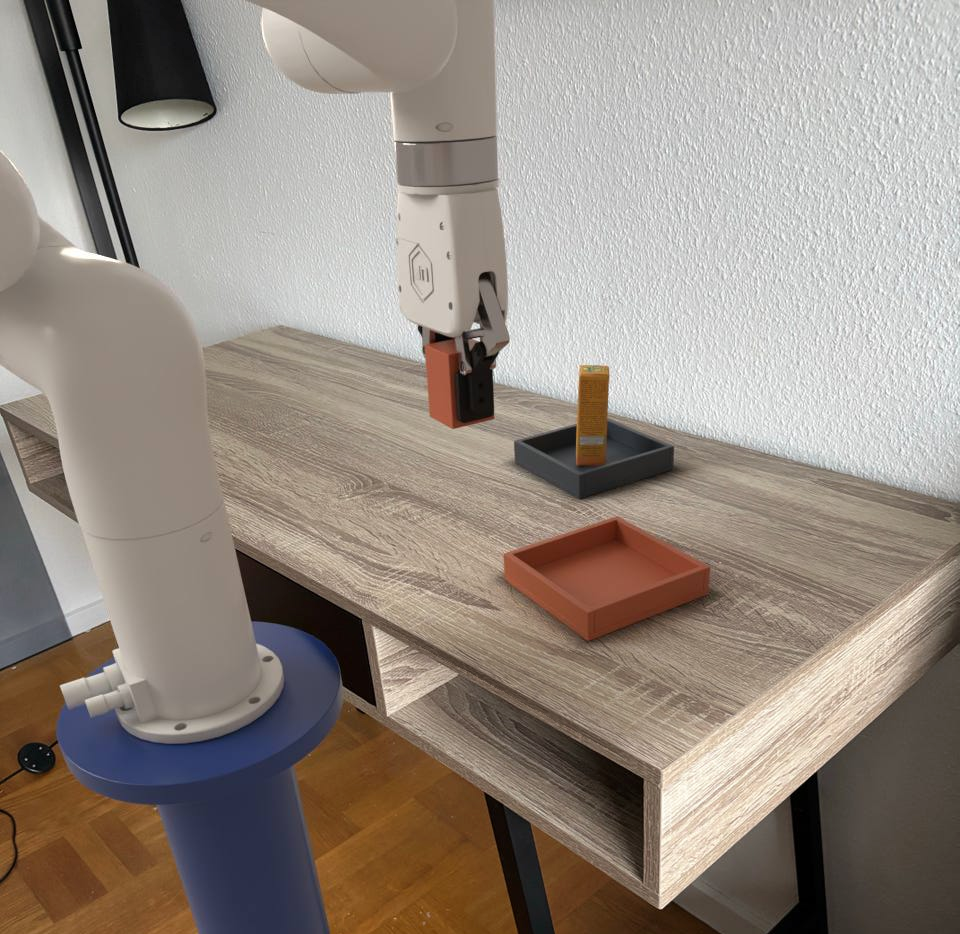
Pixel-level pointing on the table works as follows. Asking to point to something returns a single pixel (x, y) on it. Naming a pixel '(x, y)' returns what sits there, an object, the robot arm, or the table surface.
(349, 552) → the table surface
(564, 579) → the terracotta tray
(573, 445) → the slate tray
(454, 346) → the terracotta block
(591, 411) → the supplement box
